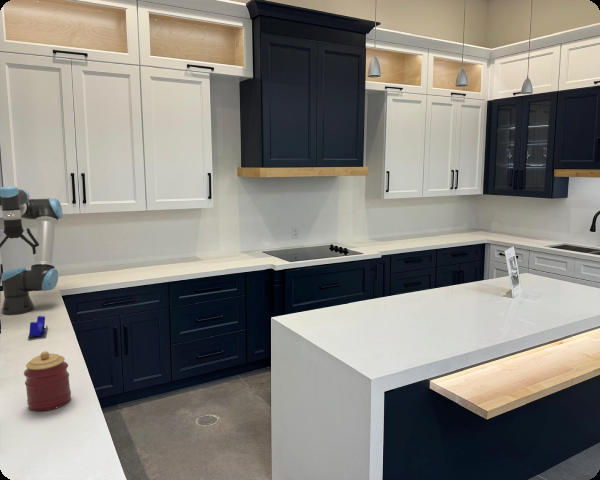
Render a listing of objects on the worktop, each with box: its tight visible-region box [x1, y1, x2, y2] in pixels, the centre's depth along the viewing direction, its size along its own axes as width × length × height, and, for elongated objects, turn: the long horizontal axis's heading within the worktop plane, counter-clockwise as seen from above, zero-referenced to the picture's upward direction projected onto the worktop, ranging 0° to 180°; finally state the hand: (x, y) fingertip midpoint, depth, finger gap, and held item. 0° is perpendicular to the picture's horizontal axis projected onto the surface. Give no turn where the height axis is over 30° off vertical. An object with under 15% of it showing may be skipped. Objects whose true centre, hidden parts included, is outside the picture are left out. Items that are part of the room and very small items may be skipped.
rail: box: [27, 325, 49, 341], centre depth 234 cm, size 15×7×1 cm, turn 23°
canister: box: [23, 350, 72, 412], centre depth 164 cm, size 13×13×18 cm
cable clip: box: [28, 315, 46, 336], centre depth 234 cm, size 12×4×6 cm, turn 11°
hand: (17, 262), depth 243 cm, fingers open, 13 cm apart
